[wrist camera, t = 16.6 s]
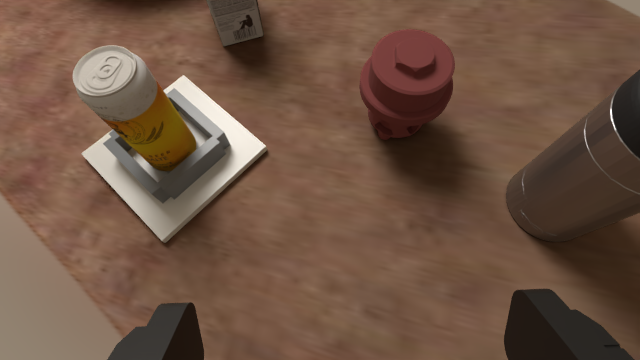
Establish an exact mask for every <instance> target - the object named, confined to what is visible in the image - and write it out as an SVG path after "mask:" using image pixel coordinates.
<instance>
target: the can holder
mask: <svg viewBox="0 0 640 360" xmlns="http://www.w3.org/2000/svg"><path fill="white" fill-rule="evenodd" d="M164 93H165V94H166V95H167V97H168V98H169V100H170V101H171V103H172V104H173V106H174V107H175V109H176V110H177V112H178V113H179V115H180V116H181V117H182V119H183V120H184V122H185V123H186V125H187V126H188V128H189V129H190V131H191V132H192V134H193V135H194V137H195V139H196V151H194V152H193V153H192V154H191V155H190V156H189V157H187V158H186V159H185V160H184V161H183V162H182V163H180V164H179V165H178V166H177V167H176V168H174V169H173V170H172V171H160V170H157V169H155V168H154V167H152V166H151V165H150V164H149V163H148V162H147V161H146V160H145V159H144V158H143V157H142V156H140V155H139V154H138V153H137V152H136V151H135V150H134V149H133V148H132V147H131V146H130V145H129V144H128V143H127V142H126V141H125V140H124V139H123V138H121V137H120V136H119V135H118V134H117V133H116V132H115V131H114V130H112V131H110V132H109V133H108V134H106V135H105V136H104V137H102V138H101V139H100V140H98V141H97V142H96V143H95V144H93V145H92V146H91V147H89V148H88V149H87V150H85V151H84V152H83V153H82V155H83V156H84V157H85V158H86V159H87V160H88V162H89V163H90V164H91V165H92V166H93V167H94V168H95V169H96V170H97V171H98V172H99V174H100V175H101V176H102V177H103V178H104V179H105V180H106V181H107V182H108V183H109V184H110V185H111V187H112V188H113V189H114V190H115V191H116V192H117V193H118V194H119V195H120V196H121V197H122V198H123V200H124V201H125V202H126V203H127V204H128V205H129V206H130V207H131V208H132V209H133V210H134V211H135V213H136V214H137V215H138V216H139V217H140V218H141V219H142V220H143V221H144V222H145V223H146V224H147V226H148V227H149V228H150V229H151V230H152V231H153V232H154V233H155V234H156V235H157V236H158V237H159V239H160V240H161V241H163V242H164V243H166V242H167V241H168V240H169V239H170V238H171V237H173V236H174V235H175V234H176V233H177V232H178V231H179V230H180V229H181V228H182V227H184V226H185V225H186V224H187V223H188V222H189V221H190V220H191V219H192V218H193V217H194V216H196V215H197V214H198V213H199V212H200V211H201V210H202V209H203V208H204V207H205V206H206V205H208V204H209V203H210V202H211V201H212V200H213V199H214V198H215V197H216V196H217V195H218V194H220V193H221V192H222V191H223V190H224V189H225V188H226V187H227V186H228V185H229V184H231V183H232V182H233V181H234V180H235V179H236V178H237V177H238V176H239V175H240V174H241V173H243V172H244V171H245V170H246V169H247V168H248V167H249V166H250V165H251V164H252V163H253V162H255V161H256V160H257V159H258V158H259V157H260V156H261V155H262V154H263V153H264V152H266V151H267V148H266V146H265V145H264V144H263V143H262V142H261V141H259V140H258V139H257V138H256V137H255V136H254V135H253V134H251V133H250V132H249V131H248V130H247V129H246V128H244V127H243V126H242V125H241V124H240V123H239V122H237V121H236V120H235V119H234V118H233V117H232V116H230V115H229V114H228V113H227V112H226V111H225V110H223V109H222V108H221V107H220V106H219V105H218V104H216V103H215V102H214V101H213V100H212V99H211V98H210V97H208V96H207V95H206V94H205V93H204V92H203V91H201V90H200V89H199V88H198V87H197V86H196V85H194V84H193V83H192V82H191V81H190V80H189V79H187V78H186V77H185V76H184V75H183V76H182V77H180V78H179V79H178V80H177V81H175V82H174V83H173V84H171V85H170V86H169V87H167V88H166V89H165V90H164Z"/></svg>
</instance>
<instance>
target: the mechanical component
mask: <svg viewBox="0 0 640 360" xmlns="http://www.w3.org/2000/svg"><path fill="white" fill-rule="evenodd" d="M454 68H455V62H454V57H453V54H452V52H451V50H450V49H449V47H448V46H447V45H446V44H445V43H444V42H443V41H442V40H441V39H439V38H438V37H436V36H434V35H432V34H430V33H428V32H424V31H421V30H414V29H406V30H399V31H395V32H392V33H390V34H388V35H386V36H384V37H383V38H382V39H381V40H380V41H379V42H378V43H377V44H376V46H375V47H374V50H373V52H372V56H371V57H370V58H369V59H368V60H367V62H366V63H365V65H364V67H363V69H362V72H361V77H360V94H361V97H362V100H363V102H364V103H365V105H366V106H367V108H368V116H369V120H370V122H371V124H372V125H373V127H374V128H375V129H376V130H377V131H378V136H379V137H380V138H381V139H383V140H387V139H389V138H390V137H394V138H403V137H407V136H410V135H412V134H414V133H416V132H417V131H418V130H419V129H420V128H421V126H422V124H424V123H427V122H429V121H431V120H433V119H435V118H436V117H438V116H439V115H440V114H441V113H442V112H443V110H444V109H445V107H446V106H447V104H448V102H449V100H450V98H451V95H452V91H453V80H452V75H453V73H454Z"/></svg>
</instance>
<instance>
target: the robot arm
mask: <svg viewBox="0 0 640 360" xmlns="http://www.w3.org/2000/svg"><path fill="white" fill-rule="evenodd" d="M506 199H507V205H508V208H509V211H510V213H511V215H512V216H513V218H514V219H515V221H516V222H517V223H518V224H519V226H521V227H522V228H523V229H524V230H525V231H526V232H528V233H530V234H531V235H533V236H534V237H537V238H539V239H542V240H546V241H551V242H563V241H567V240H571V239H573V238H576V237H578V236H581V235H584V234H586V233H589V232H591V231H594V230H597V229H599V228H602V227H605V226H607V225H610V224H612V223H615V222H617V221H620V220H623V219H625V218H628V217H630V216H633V215H635V214H638V213H640V70H639V71H637V72H636V73H635V74H634V75H633V76H631V77H630V78H629V79H628V80H627V81H625V82H624V83H623V84H622V85H621V86H620V87H618V88H617V89H616V90H615V91H614V92H613V93H611V94H610V95H609V96H608V97H607V98H605V99H604V100H603V101H602V102H601V103H600V104H598V105H597V106H596V107H595V108H594V109H593V110H592V111H590V112H589V113H588V114H587V115H586V116H584V117H583V118H582V119H581V120H580V121H579V122H577V123H576V124H575V125H574V126H573V127H571V128H570V129H569V130H568V131H567V132H565V133H564V134H563V135H562V136H561V137H560V138H558V139H557V140H556V141H555V142H554V143H552V144H551V145H550V146H549V147H548V148H547V149H545V150H544V151H543V152H542V153H541V154H539V155H538V156H537V157H536V158H535V159H533V160H532V161H531V162H530V163H529V164H527V165H526V166H525V167H524V168H523V169H521V170H520V171H519V172H518V173H517V174H516V175H514V177H513V178H512V179H511V180H510V182H509V185H508V187H507V193H506ZM504 345H505V351H506V355H507V357H508V360H634V359H633V358H632V357H631V356H630V355H629V354H628V353H627V352H626V351H625V350H624V349H621V348H620V346H619V345H620V344H619V343H618V342H617V341H616V340H615V339H614V338H613V337H612V336H611V335H610V334H609V333H608V332H607V331H606V330H605V329H604V328H603V327H602V326H601V325H599V324H598V323H596V322H595V321H593V320H592V319H590V318H589V317H587V316H586V315H584V314H582V313H581V312H579V311H578V310H570V309H569V307H568V306H567V305H566V304H565V303H564V302H563V301H562V300H561V299H560V298H559V297H558V296H557V294H556V293H555V292H553V291H552V290H550V289H529V290H516V291H515V292H514V293H513V296H512V300H511V305H510V310H509V315H508V320H507V325H506V330H505V335H504ZM108 360H204V348H203V343H202V338H201V334H200V329H199V324H198V319H197V314H196V310H195V306H194V304H193V303H168V304H160V305H159V306H158V307H157V309H156V310H155V312H154V314H153V316H152V317H151V319H150V321H149V323H148V324H147V326H145V327H136V328H135V329H133V330H132V331H131V332H130V333H129V334H128V335H127V336H126V337H125V338H123V339H122V340H121V341H120V342H119V343H118V344H117V345H116V347H115V348H114V350H113V352H112V353H111V355H110V356H109V358H108Z"/></svg>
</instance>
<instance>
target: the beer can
mask: <svg viewBox="0 0 640 360" xmlns="http://www.w3.org/2000/svg"><path fill="white" fill-rule="evenodd" d="M73 82H74V84H75V86H76V89H77V93H78V95H79V97H80V98H81V99H82V101H84V102H85V103H86V104H87V105H88V106H89V107H90V108H91V109H92V110H93V111H94V112H95V113H96V114H97V115H98V116H99V117H100V118H101V119H102V120H104V121H105V122H106V123H107V124H108V125H109V126H110V127H111V128H112V129H113V130H114V131H115V132H116V133H117V134H118V135H119V136H120V137H121V138H123V139H124V140H125V141H126V142H127V143H128V144H129V145H130V146H131V147H132V148H133V149H134V150H135V151H136V152H137V153H138V154H139V155H140V156H142V157H143V158H144V159H145V160H146V161H147V162H148V163H149V164H150V165H151V166H152V167H154V168H155V169H157V170H160V171H172V170H173V169H174V168H176V167H177V166H178V165H179V164H180V163H182V162H183V161H184V160H185V159H186V158H187V157H189V156H190V155H191V154H192V153H193V152H194V151H196V139H195V137H194V135H193V134H192V132H191V131H190V129H189V128H188V126H187V125H186V123H185V122H184V120H183V119H182V117H181V116H180V115H179V113H178V112H177V110H176V109H175V107H174V106H173V104H172V103H171V101H170V100H169V98H168V97H167V95H166V94H165V93H164V91H163V90H162V88H161V87H160V85H159V84H158V82H157V81H156V79H155V78H154V76H153V75H152V73H151V72H150V70H149V69H148V68H147V66H146V65H145V63H144V62H143V60H142V59H141V58H140V57H138V56H137V55H135V54H133V53H131V52H130V51H129V50H127V49H126V48H123V47H120V46H103V47H100V48H97V49H94V50H92V51H90V52H89V53H87V54H86V55H85V56H83V57H82V58H81V59H80V60H79V62H78V63H77V65H76V66H75V68H74V71H73Z"/></svg>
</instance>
